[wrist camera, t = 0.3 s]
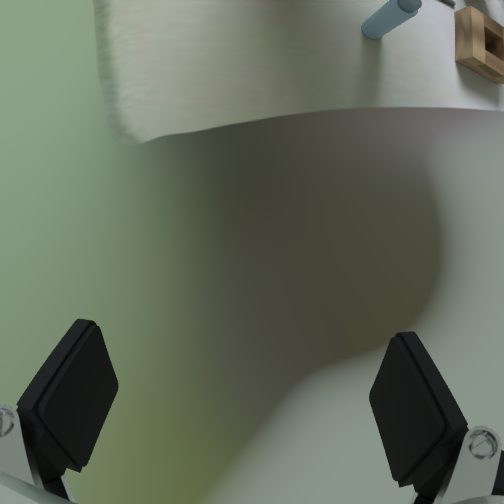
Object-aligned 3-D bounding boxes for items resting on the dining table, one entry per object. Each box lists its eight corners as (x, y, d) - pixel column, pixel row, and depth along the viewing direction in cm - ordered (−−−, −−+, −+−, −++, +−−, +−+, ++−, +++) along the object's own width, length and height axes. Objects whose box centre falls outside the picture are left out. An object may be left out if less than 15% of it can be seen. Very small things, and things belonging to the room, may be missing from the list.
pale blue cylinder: (362, 18, 28) (399, -16, 17) (382, 24, 28) (424, -5, 17) (360, 35, 29) (399, 5, 18) (381, 42, 29) (425, 16, 18)
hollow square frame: (454, 12, 25) (470, 5, 21) (495, 37, 25) (512, 33, 21) (455, 60, 28) (472, 56, 24) (495, 83, 29) (514, 83, 25)
